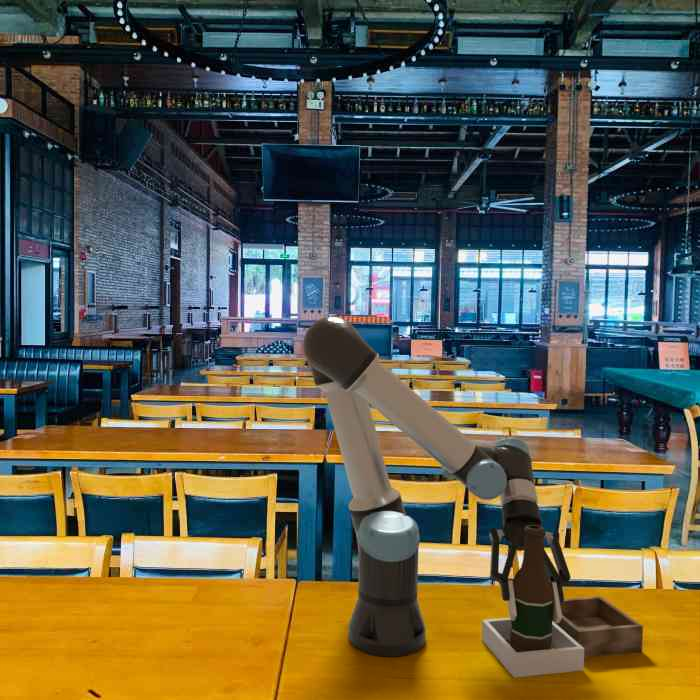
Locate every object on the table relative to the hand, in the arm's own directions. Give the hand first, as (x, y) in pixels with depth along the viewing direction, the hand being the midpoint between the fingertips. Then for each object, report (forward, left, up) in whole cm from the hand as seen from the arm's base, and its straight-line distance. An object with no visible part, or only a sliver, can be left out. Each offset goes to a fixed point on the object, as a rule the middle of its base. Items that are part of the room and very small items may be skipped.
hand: (535, 619), depth 115 cm
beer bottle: (+1, +3, -8) cm, 9 cm away
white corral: (+1, +3, -8) cm, 9 cm away
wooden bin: (+16, +7, -8) cm, 19 cm away
